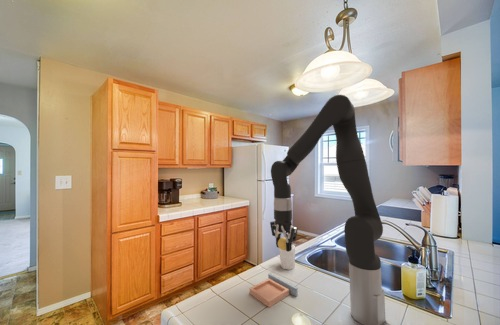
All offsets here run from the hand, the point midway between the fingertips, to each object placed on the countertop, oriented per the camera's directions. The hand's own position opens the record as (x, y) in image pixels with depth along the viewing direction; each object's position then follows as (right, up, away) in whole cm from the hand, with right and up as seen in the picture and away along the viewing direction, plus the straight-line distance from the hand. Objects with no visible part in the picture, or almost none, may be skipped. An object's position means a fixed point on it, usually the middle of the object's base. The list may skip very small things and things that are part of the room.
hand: (283, 248), depth 87 cm
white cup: (+5, -16, +17) cm, 24 cm away
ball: (0, +2, 0) cm, 2 cm away
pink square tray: (-7, -16, -5) cm, 18 cm away
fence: (-1, -16, -1) cm, 16 cm away
